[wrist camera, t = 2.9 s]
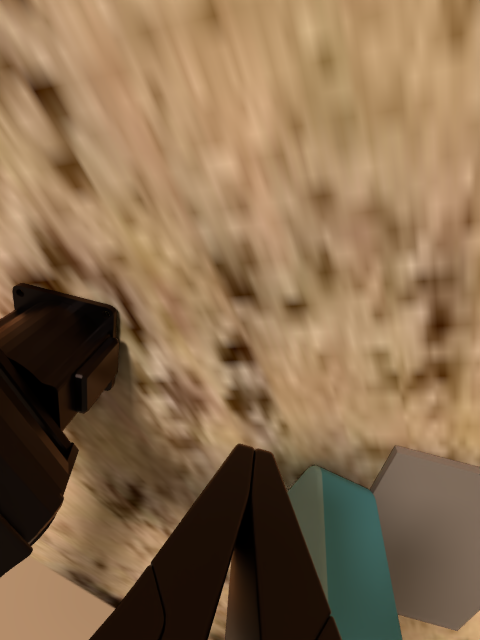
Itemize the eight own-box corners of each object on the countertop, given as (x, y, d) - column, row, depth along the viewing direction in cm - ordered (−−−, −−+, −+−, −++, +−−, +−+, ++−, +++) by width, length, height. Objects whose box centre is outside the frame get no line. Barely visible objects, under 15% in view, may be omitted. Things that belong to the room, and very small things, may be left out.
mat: (315, 584, 33) (315, 591, 32) (395, 445, 24) (397, 452, 24) (454, 622, 32) (457, 631, 32) (587, 495, 24) (593, 503, 23)
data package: (292, 558, 32) (286, 772, 21) (245, 538, 31) (216, 744, 21) (373, 480, 26) (420, 719, 15) (317, 454, 26) (326, 680, 15)
